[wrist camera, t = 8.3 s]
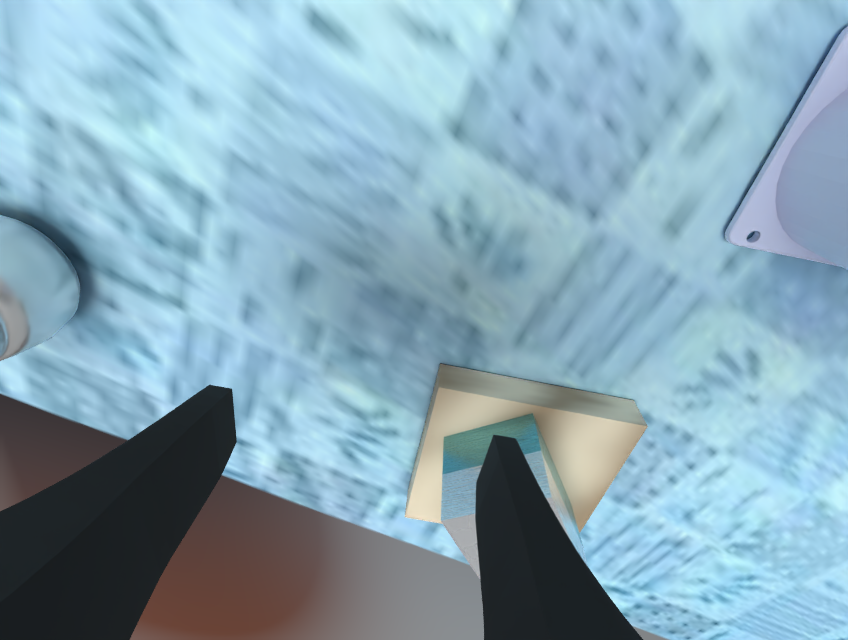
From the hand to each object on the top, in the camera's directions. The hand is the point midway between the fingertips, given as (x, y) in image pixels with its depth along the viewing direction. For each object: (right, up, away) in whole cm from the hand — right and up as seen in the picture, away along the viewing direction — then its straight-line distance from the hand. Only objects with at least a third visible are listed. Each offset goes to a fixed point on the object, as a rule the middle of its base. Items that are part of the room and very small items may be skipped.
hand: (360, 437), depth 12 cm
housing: (+7, -6, +13) cm, 15 cm away
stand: (+7, -5, +14) cm, 17 cm away
